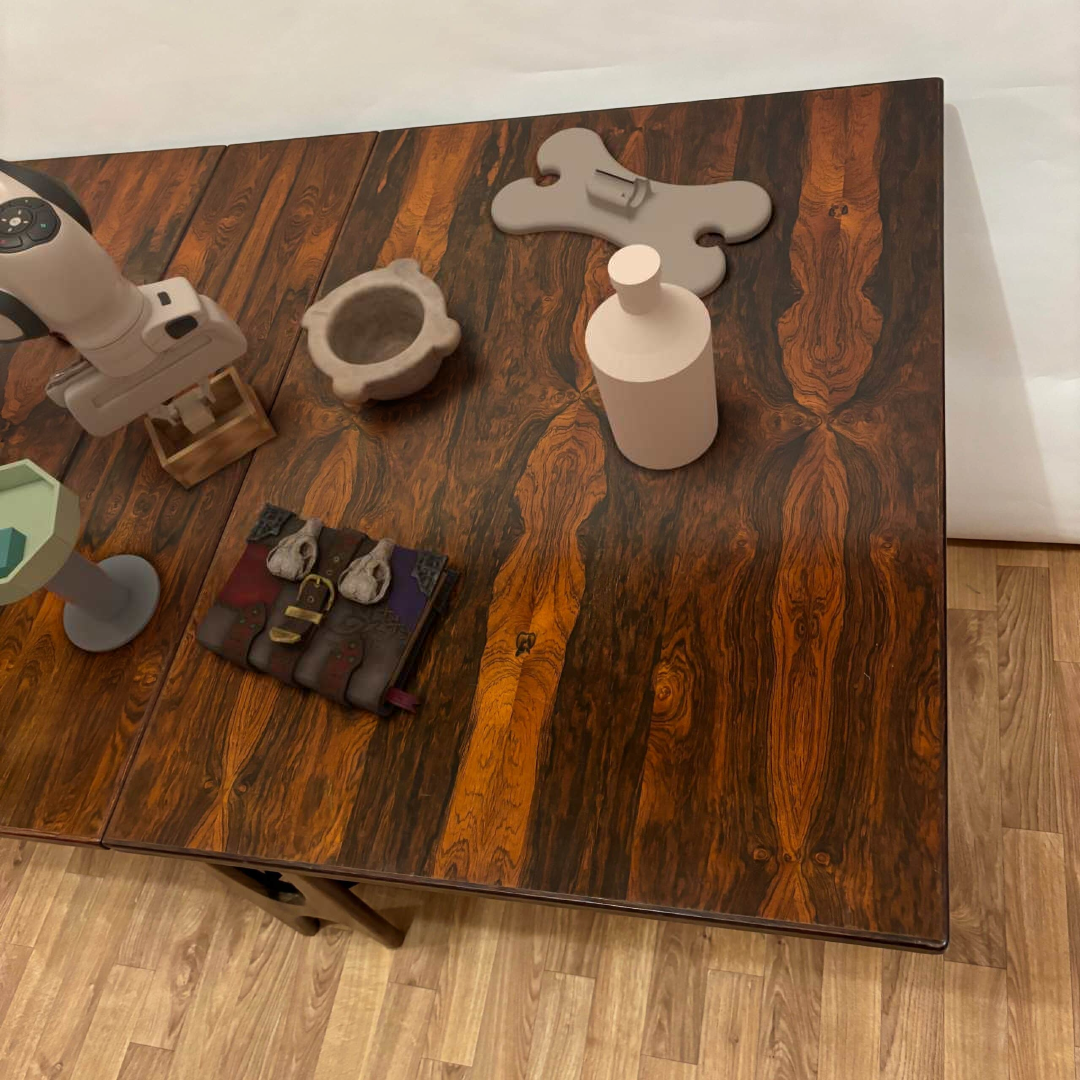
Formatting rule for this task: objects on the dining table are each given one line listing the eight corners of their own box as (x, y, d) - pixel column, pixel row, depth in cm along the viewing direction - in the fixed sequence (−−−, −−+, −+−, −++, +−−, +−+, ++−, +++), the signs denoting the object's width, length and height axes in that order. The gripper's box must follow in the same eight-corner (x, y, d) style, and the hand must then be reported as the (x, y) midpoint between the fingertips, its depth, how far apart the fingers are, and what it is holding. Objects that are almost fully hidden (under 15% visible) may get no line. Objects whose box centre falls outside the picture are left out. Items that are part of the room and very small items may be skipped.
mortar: (489, 384, 110) (466, 333, 102) (361, 449, 110) (329, 403, 102) (439, 295, 119) (415, 242, 111) (321, 355, 118) (288, 307, 111)
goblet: (53, 674, 105) (-87, 606, 88) (67, 565, 112) (-61, 482, 95) (168, 647, 103) (47, 571, 86) (174, 537, 110) (64, 448, 93)
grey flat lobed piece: (565, 130, 128) (557, 99, 123) (786, 203, 112) (786, 170, 108) (480, 225, 123) (469, 195, 119) (698, 314, 108) (694, 284, 103)
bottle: (702, 369, 104) (680, 196, 83) (735, 454, 98) (721, 290, 77) (600, 402, 105) (553, 239, 84) (627, 487, 99) (583, 336, 78)
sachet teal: (-7, 582, 91) (-22, 573, 90) (-1, 542, 94) (-15, 533, 92) (20, 575, 91) (5, 566, 89) (26, 536, 93) (12, 526, 91)
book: (205, 654, 102) (167, 629, 95) (286, 516, 108) (255, 484, 102) (408, 737, 92) (380, 715, 86) (484, 581, 98) (463, 549, 92)
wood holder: (188, 491, 113) (162, 467, 108) (169, 444, 117) (143, 419, 113) (278, 437, 114) (256, 411, 109) (255, 392, 118) (233, 365, 113)
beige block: (193, 434, 110) (184, 425, 108) (183, 410, 112) (173, 400, 110) (215, 421, 110) (206, 411, 108) (204, 397, 112) (195, 387, 110)
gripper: (41, 404, 96) (124, 474, 108) (214, 302, 97) (276, 382, 109) (29, 366, 99) (111, 438, 111) (196, 268, 100) (259, 349, 112)
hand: (194, 410), depth 110 cm, fingers closed on beige block, 3 cm apart
